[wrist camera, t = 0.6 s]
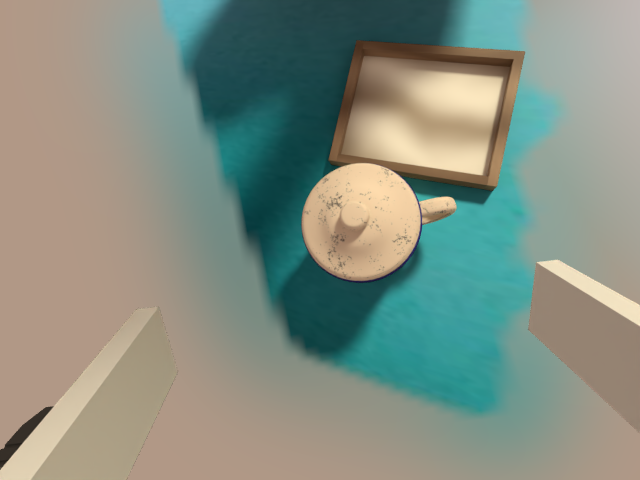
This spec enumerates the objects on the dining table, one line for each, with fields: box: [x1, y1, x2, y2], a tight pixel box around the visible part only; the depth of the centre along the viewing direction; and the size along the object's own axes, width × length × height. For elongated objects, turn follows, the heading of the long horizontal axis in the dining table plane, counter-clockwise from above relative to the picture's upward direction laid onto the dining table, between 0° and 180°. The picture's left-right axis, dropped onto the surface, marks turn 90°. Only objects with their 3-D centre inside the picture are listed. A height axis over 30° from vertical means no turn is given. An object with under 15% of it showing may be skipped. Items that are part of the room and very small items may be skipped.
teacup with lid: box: [301, 163, 456, 283], centre depth 29 cm, size 12×9×12 cm
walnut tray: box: [329, 40, 525, 191], centre depth 34 cm, size 13×16×2 cm
